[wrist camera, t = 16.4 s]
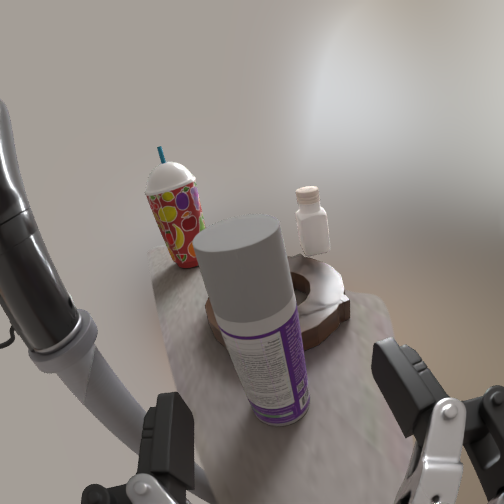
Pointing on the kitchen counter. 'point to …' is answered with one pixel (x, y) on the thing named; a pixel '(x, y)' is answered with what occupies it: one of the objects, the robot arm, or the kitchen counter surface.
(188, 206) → the smoothie
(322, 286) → the collar
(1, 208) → the robot arm
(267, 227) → the container
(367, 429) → the kitchen counter surface
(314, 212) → the pepper shaker
